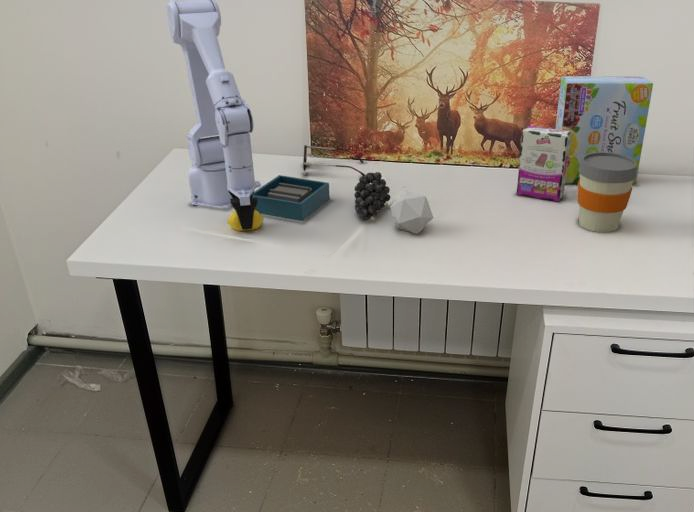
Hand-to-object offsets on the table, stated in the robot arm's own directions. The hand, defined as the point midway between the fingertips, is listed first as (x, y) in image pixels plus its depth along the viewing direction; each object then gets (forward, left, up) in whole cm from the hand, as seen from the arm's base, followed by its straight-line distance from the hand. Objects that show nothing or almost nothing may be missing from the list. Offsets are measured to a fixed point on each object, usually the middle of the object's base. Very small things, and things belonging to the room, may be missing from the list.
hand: (246, 224), depth 161 cm
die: (+35, +11, -2) cm, 37 cm away
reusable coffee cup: (+76, +26, -2) cm, 80 cm away
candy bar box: (+61, +40, -2) cm, 73 cm away
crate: (+5, +15, -1) cm, 16 cm away
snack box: (+73, +56, -2) cm, 92 cm away
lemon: (0, 0, -1) cm, 1 cm away
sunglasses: (+6, +42, -2) cm, 42 cm away
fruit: (+23, +17, -2) cm, 29 cm away
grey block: (+5, +15, -1) cm, 16 cm away
